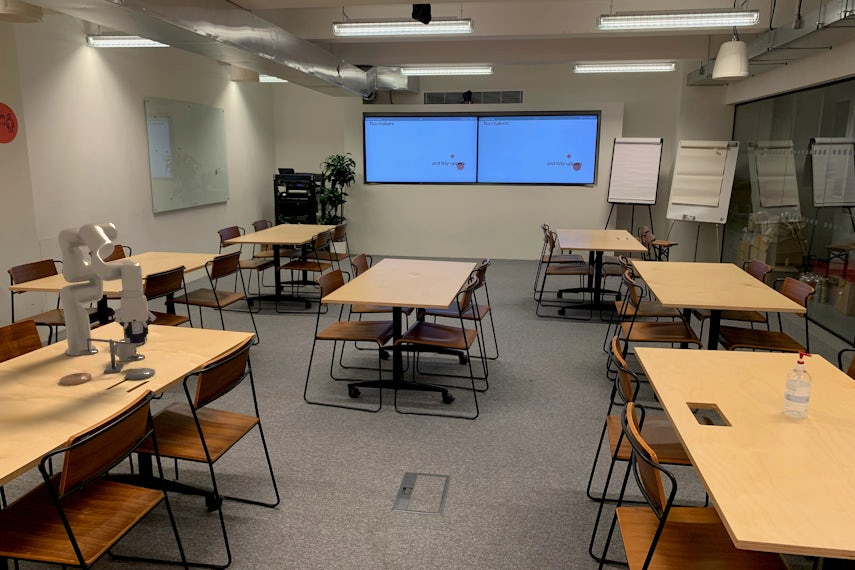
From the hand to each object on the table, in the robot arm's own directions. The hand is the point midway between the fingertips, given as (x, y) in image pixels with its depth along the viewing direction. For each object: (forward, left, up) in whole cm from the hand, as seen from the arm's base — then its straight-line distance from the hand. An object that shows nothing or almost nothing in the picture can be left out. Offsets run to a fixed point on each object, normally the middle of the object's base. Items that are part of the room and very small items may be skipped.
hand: (137, 336), depth 251 cm
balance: (-10, -12, -17) cm, 23 cm away
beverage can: (0, 0, -3) cm, 3 cm away
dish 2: (0, 0, -17) cm, 17 cm away
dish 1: (0, -24, -17) cm, 29 cm away
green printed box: (-49, -10, -17) cm, 53 cm away
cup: (-23, -10, -17) cm, 30 cm away
